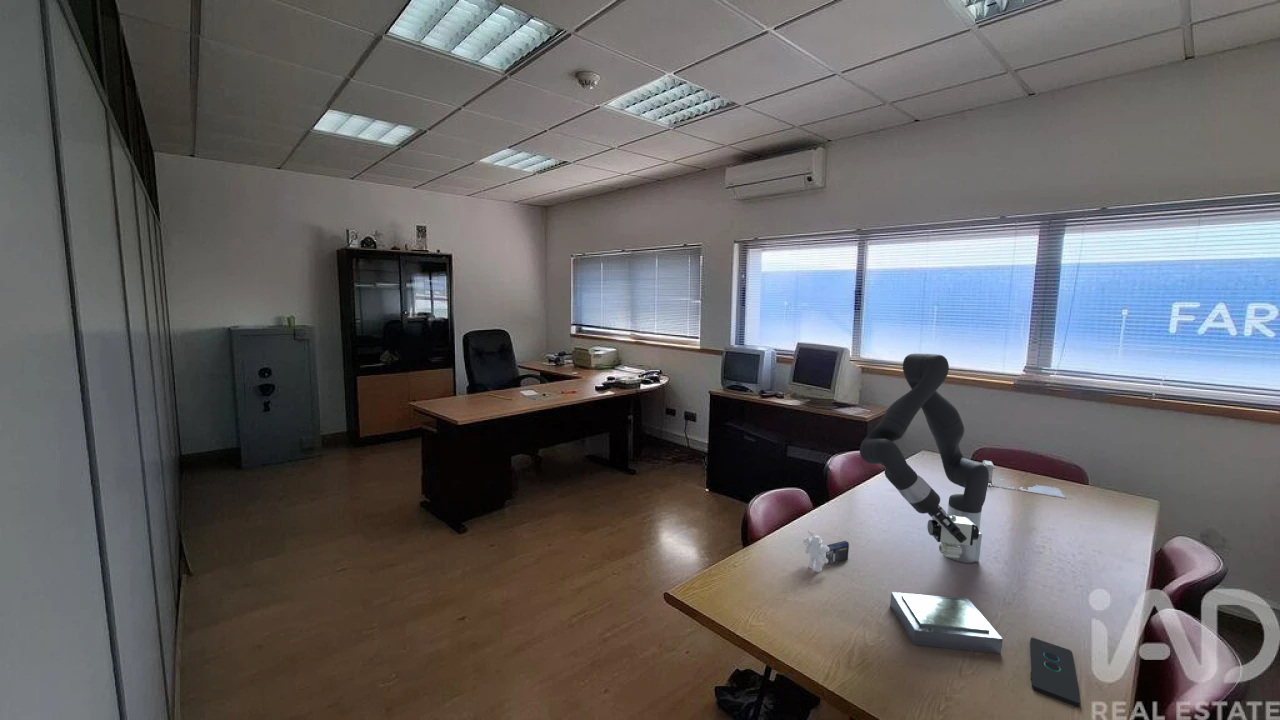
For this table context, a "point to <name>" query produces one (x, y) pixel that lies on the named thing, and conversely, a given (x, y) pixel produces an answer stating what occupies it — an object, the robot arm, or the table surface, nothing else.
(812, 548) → the hat wearing toy figure
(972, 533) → the pneumatic valve
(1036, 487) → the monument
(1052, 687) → the smart home device
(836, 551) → the mini dv tape
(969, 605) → the grey picture frame
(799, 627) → the table surface
